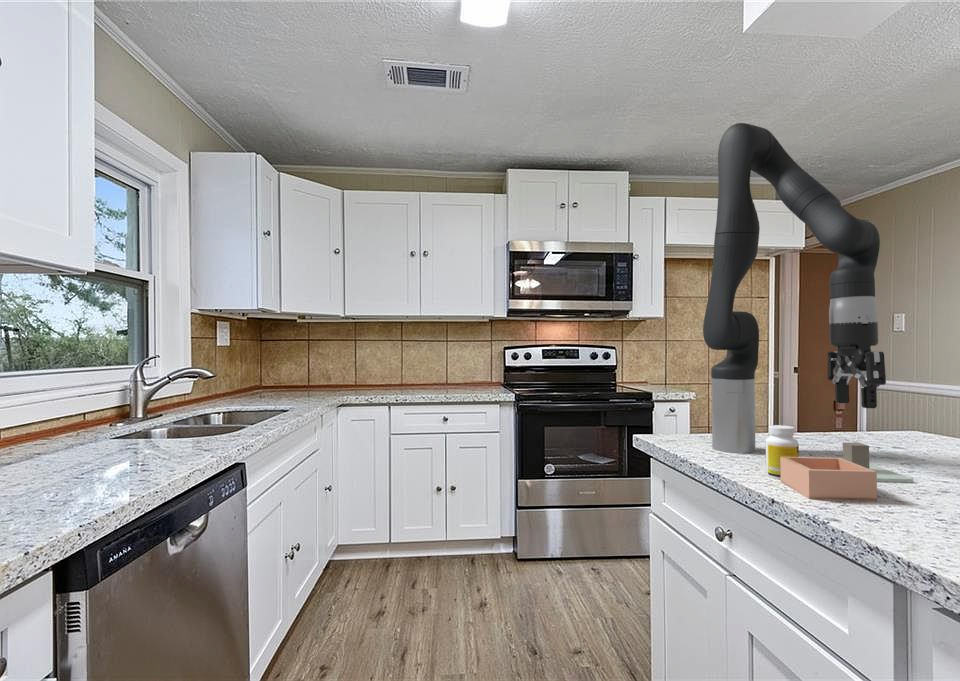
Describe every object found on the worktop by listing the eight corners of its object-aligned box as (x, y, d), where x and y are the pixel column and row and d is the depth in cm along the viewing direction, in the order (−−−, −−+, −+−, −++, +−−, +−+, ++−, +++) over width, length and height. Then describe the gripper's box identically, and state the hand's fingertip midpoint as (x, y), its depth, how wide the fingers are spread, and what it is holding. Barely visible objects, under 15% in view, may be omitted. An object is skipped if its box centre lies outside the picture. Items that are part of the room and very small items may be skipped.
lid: (806, 465, 103) (806, 437, 103) (870, 466, 101) (869, 438, 102) (840, 480, 91) (839, 449, 91) (913, 482, 90) (912, 451, 90)
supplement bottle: (804, 483, 92) (803, 429, 92) (771, 481, 93) (771, 428, 93) (792, 475, 97) (791, 424, 97) (761, 474, 98) (760, 424, 98)
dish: (780, 484, 91) (780, 456, 91) (840, 485, 89) (840, 457, 89) (809, 501, 81) (808, 470, 81) (877, 503, 79) (876, 471, 80)
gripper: (812, 323, 104) (814, 401, 104) (853, 319, 90) (856, 409, 90) (852, 323, 103) (854, 401, 103) (899, 318, 89) (902, 410, 89)
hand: (855, 405), depth 96 cm, fingers open, 8 cm apart
